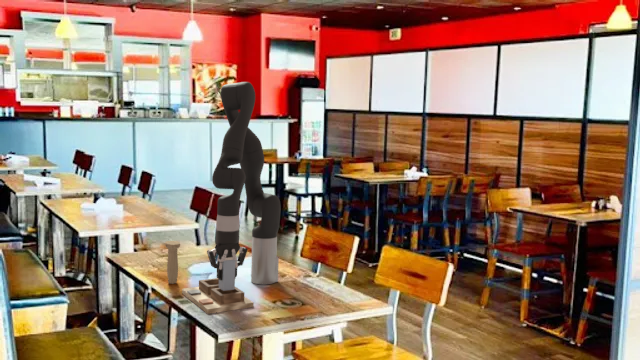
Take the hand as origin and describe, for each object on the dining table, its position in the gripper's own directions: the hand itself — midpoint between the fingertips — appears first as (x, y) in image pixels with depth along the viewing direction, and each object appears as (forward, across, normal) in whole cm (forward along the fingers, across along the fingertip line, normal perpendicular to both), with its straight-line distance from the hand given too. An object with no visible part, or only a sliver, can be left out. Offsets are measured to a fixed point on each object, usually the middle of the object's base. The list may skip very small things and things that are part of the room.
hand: (226, 278), depth 216 cm
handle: (+9, +8, -30) cm, 33 cm away
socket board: (+9, +1, -5) cm, 10 cm away
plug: (+3, 0, 0) cm, 3 cm away
